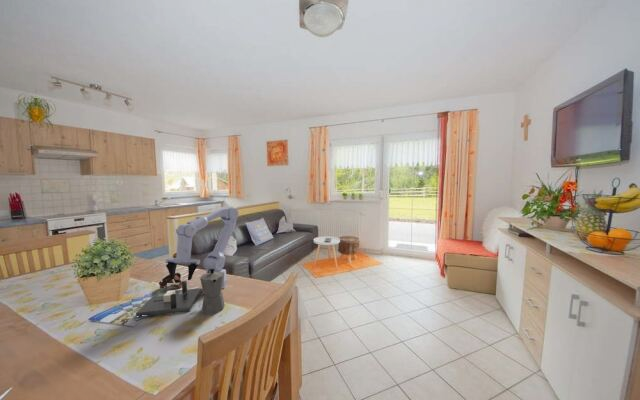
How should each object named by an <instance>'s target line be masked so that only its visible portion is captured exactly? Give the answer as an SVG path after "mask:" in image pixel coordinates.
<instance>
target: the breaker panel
mask: <svg viewBox="0 0 640 400" xmlns="http://www.w3.org/2000/svg"><path fill="white" fill-rule="evenodd" d="M166 293H167V291H158V292H156V293H154V295H152V297H150V298H149V299H148V300H147V301H146V302H145V303H144V304H143V305H142V307H140V308H139V310H138V311H137V312H136V313H135V317H136V316H142V315H148V316H147V317H152V316H153V317H154V316H155V317H156V316H162V315H170V314H179V313H188V312H189V313H190V312H191V310H192V308H193V307H194V305H195V304H196V302H197V300H198V299H199V297H200V295H201V294H202V293H203V289H202V287H198V288H187V292H182V289H178V290H175V294H176V306H175V307H171V302H164V300H163V296H164V295H165V294H166Z"/></svg>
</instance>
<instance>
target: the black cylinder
mask: <svg viewBox="0 0 640 400" xmlns="http://www.w3.org/2000/svg"><path fill="white" fill-rule="evenodd" d="M170 297H171V307H175V306H176V294H172V295H170Z"/></svg>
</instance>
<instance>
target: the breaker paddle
mask: <svg viewBox="0 0 640 400" xmlns="http://www.w3.org/2000/svg"><path fill="white" fill-rule="evenodd" d="M175 291H176V290H175V289H174V290H173V289H172V290H167V291H166V292H167V293H166V294H165V295H164V296H163V300H164V302H171V297H170V295H172V294H175Z"/></svg>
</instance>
